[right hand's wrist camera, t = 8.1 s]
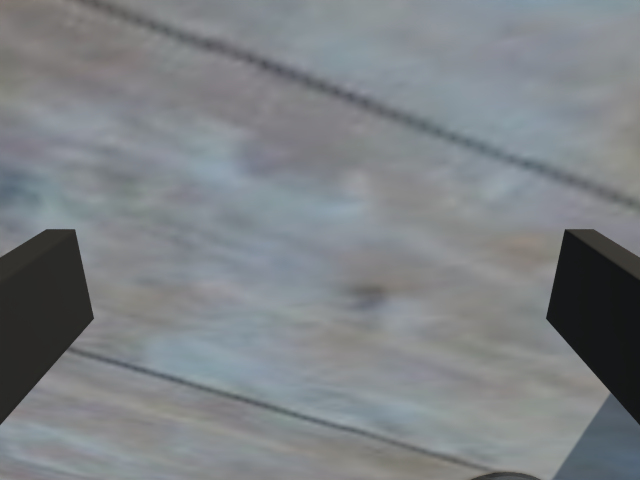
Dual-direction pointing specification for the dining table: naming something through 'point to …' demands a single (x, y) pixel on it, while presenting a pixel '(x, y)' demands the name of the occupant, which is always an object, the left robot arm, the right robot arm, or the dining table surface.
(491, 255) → the dining table surface
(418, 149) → the dining table surface
